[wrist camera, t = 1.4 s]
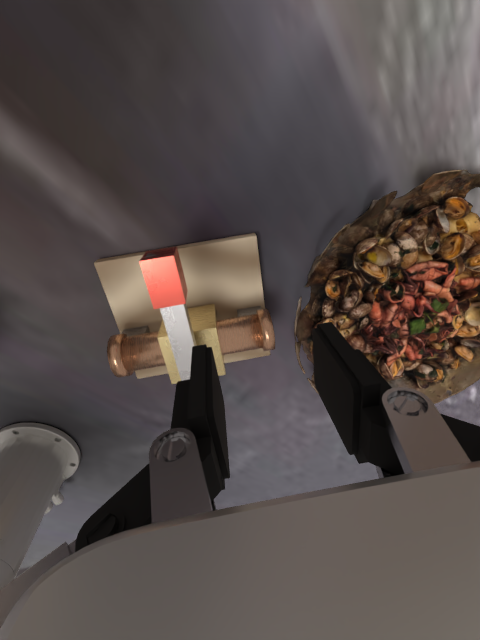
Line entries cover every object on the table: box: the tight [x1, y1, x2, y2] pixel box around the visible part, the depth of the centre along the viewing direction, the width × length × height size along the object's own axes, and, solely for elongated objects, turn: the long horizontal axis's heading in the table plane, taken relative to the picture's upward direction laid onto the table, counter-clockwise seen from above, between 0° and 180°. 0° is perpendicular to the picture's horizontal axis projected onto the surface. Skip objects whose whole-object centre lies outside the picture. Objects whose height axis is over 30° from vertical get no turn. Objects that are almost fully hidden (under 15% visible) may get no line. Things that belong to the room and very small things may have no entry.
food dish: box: [294, 170, 480, 404], centre depth 39 cm, size 35×33×8 cm
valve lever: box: [139, 246, 197, 381], centre depth 27 cm, size 13×3×4 cm, turn 8°
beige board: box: [94, 233, 270, 379], centre depth 38 cm, size 16×18×2 cm
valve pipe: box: [107, 304, 275, 384], centre depth 35 cm, size 6×18×7 cm, turn 98°
